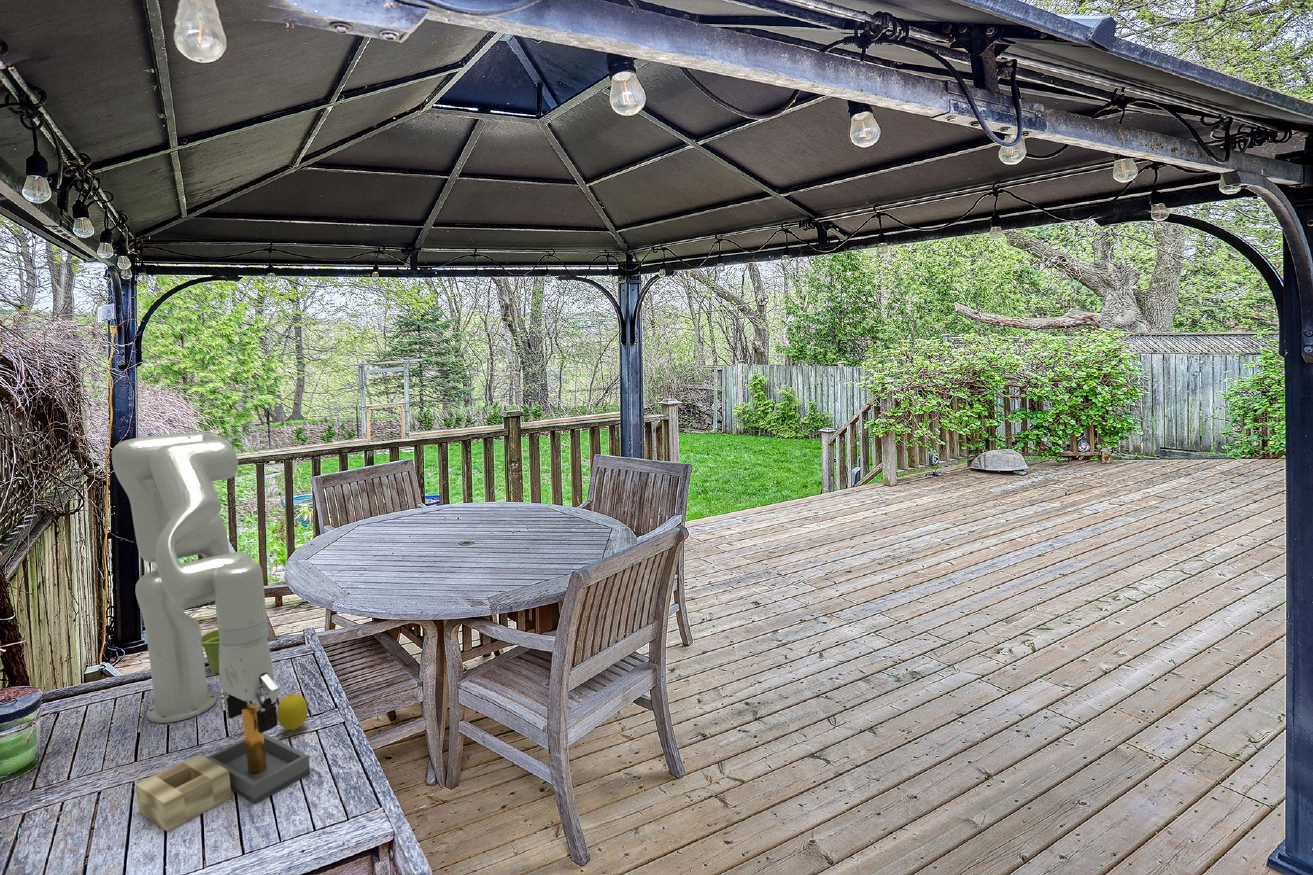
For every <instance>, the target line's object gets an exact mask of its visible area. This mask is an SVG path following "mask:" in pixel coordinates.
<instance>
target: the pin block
mask: <svg viewBox="0 0 1313 875" xmlns="http://www.w3.org/2000/svg"><path fill="white" fill-rule="evenodd" d="M206 757H207V756H206ZM206 757H205V755H202V754H201V753H198V754H196V755H194V756H192V757H189V758H187V759H186V760H183V761H181V762H179V763H177V764H175V765H173V766H170V767H168V768H166V769H163V770H162V771H160V772H158V773H156V774H154V775H152V776H149V777H147V778H145V779H143V780H141V781H139V782H137V783H135V784H134V785H135V791H136V800H137V801H136V802H137V808H138V812H139V813H140V814H142V815H143V816H145V817H146V818H148V820H150V821H152V822H153V823H155V824H156V825H157V826H159V827H160V828H162V829H163V830H164V831H166V832H170V831H172V830H174V829H176V828H177V827H179V826H181V825H183V824H185V823H187V822H188V821H191V820H192V819H194V818H196V817H197V816H198V817H199V816H200V815H202V814H203V813H205V812H207V811H209V810H211V809H212V808H215V807H217V806H218V805H220V804H223V803H225V802H226V801H228V800H229V799H231V798H233V797H232V795H233V794H232V790H231V786H230V776H229V770H227V769H225V768H223V767H222V766H220V765H218V764H216V763H214V762H213V761H211V760H209V759H207V758H206Z"/></svg>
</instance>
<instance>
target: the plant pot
mask: <svg viewBox="0 0 1313 875" xmlns="http://www.w3.org/2000/svg"><path fill="white" fill-rule="evenodd" d="M201 636H202V645H203V651H204V652H205V655H206V660H207V662H208V665H209V666H208V667H209V669H210V672H211V673H212V674H213V673H214V674H219V645H220V642H219V632H218V628H217V629H214V630H211V631H209V632H206V633H203V634H201Z"/></svg>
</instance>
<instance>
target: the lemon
mask: <svg viewBox="0 0 1313 875" xmlns="http://www.w3.org/2000/svg"><path fill="white" fill-rule="evenodd" d="M308 708H309V707H308V703H307V701H306V699H305V698H304V697H303V696H302V695H300V694H298V693H292V692H291V693H289V694H287V695H286V696H284V697H283V698H282V699H281V700H280V701H279V703H278V704H277V708H276V711H277V722H278V724H279V725H280V726H281V727H282V728H283V729H285V730H289V731H292V732H295V731H296V730H298V728H300V727H302V726H303V724H304V723H305V721H306V720H307V718H308V714H309V712H308V711H309V710H308Z"/></svg>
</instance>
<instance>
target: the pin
mask: <svg viewBox="0 0 1313 875" xmlns="http://www.w3.org/2000/svg"><path fill="white" fill-rule="evenodd" d="M257 711H259V710H258V708H257V706H256V704H255V702H254V703H250V704H247V705H246V706H244V707H243V708H242V714H241V715H242V724H243V725H242V726H243V734H244V736H243V737H244V739H245V746H246V756H247V766H248V773H249V774H257V773H260V772H262V771H264V770H265V769H266V768H267V762H266V752H265V742H264V734H265V732H263V733H259V732H258V724H257V714H256V712H257Z"/></svg>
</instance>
